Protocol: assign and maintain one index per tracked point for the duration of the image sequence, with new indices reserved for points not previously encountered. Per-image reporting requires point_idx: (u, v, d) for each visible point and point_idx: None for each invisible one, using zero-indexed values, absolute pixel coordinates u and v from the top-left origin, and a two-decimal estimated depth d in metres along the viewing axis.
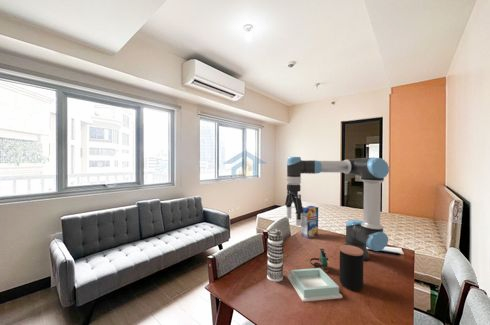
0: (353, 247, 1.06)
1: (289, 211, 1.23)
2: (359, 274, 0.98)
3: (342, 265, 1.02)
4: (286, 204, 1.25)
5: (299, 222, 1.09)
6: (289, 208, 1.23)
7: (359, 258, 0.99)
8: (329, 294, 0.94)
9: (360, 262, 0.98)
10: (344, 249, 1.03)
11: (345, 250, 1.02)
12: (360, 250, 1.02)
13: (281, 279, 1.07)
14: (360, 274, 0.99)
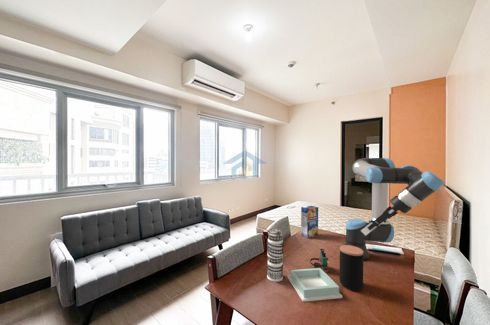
0: (353, 247, 1.06)
1: None
2: (359, 274, 0.98)
3: (342, 265, 1.02)
4: None
5: None
6: None
7: (359, 258, 0.99)
8: (329, 294, 0.94)
9: (360, 262, 0.99)
10: (344, 249, 1.03)
11: (345, 250, 1.02)
12: (360, 250, 1.02)
13: (281, 279, 1.07)
14: (360, 274, 0.99)
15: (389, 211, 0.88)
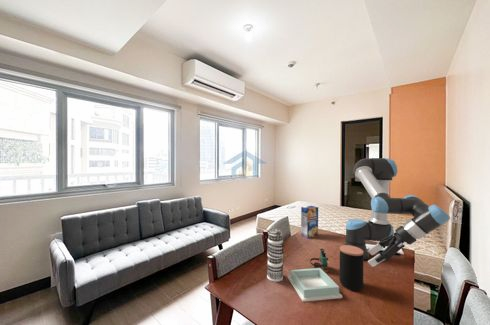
0: (353, 247, 1.06)
1: None
2: (359, 274, 0.98)
3: (342, 265, 1.02)
4: None
5: None
6: None
7: (359, 258, 0.99)
8: (329, 294, 0.94)
9: (360, 262, 0.98)
10: (344, 249, 1.03)
11: (345, 250, 1.02)
12: (360, 250, 1.02)
13: (281, 279, 1.07)
14: (360, 274, 0.99)
15: (398, 244, 0.87)
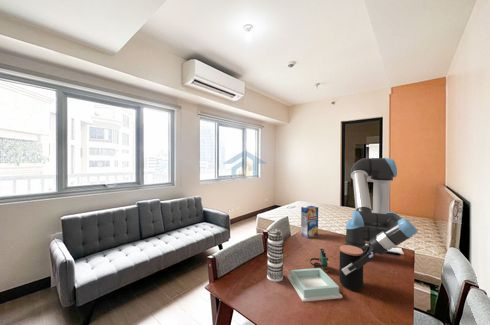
0: (353, 247, 1.06)
1: None
2: (359, 274, 0.98)
3: (342, 265, 1.02)
4: None
5: None
6: None
7: None
8: (329, 294, 0.94)
9: None
10: (344, 249, 1.03)
11: (345, 250, 1.02)
12: (360, 250, 1.02)
13: (281, 279, 1.07)
14: (360, 274, 0.99)
15: (369, 255, 0.94)
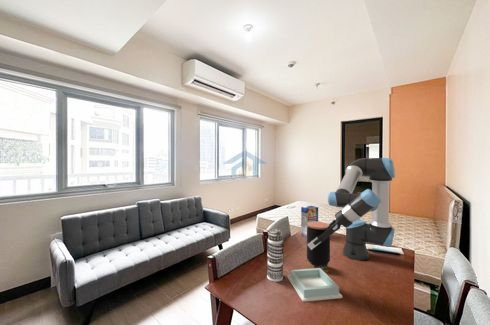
0: (321, 222, 1.03)
1: None
2: (325, 249, 0.96)
3: (308, 240, 0.99)
4: None
5: None
6: None
7: None
8: (329, 294, 0.94)
9: None
10: (311, 224, 1.00)
11: (311, 225, 0.99)
12: (327, 225, 1.00)
13: (281, 279, 1.07)
14: (326, 248, 0.96)
15: (333, 228, 0.91)
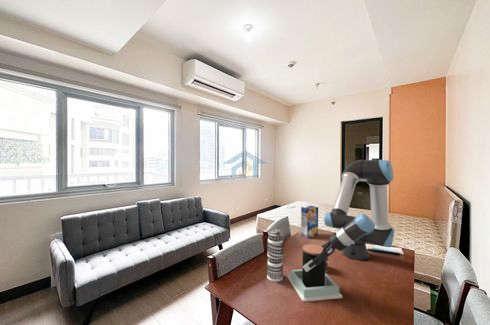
0: (316, 246, 1.04)
1: None
2: (320, 274, 0.96)
3: None
4: None
5: None
6: None
7: None
8: (329, 294, 0.94)
9: (321, 262, 0.96)
10: (306, 248, 1.01)
11: (307, 249, 1.00)
12: (322, 249, 1.00)
13: (281, 279, 1.07)
14: (321, 274, 0.97)
15: (328, 251, 0.91)
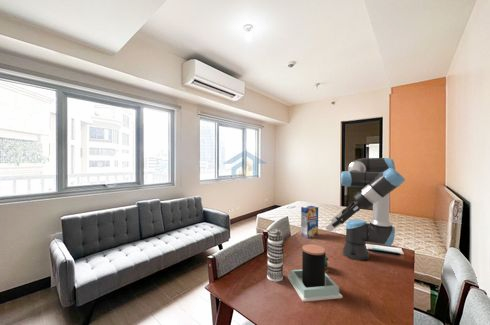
0: (316, 246, 1.04)
1: None
2: (320, 274, 0.97)
3: (304, 265, 1.00)
4: None
5: None
6: None
7: (319, 257, 0.97)
8: (329, 294, 0.94)
9: (320, 261, 0.97)
10: (306, 248, 1.01)
11: (307, 249, 1.00)
12: (322, 249, 1.00)
13: (281, 279, 1.07)
14: (321, 274, 0.97)
15: (354, 208, 0.86)
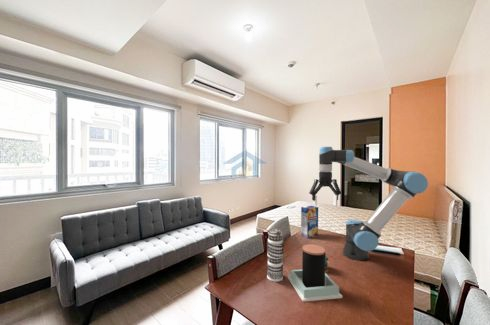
0: (316, 246, 1.04)
1: None
2: (320, 274, 0.97)
3: (304, 265, 1.00)
4: (312, 193, 1.26)
5: None
6: None
7: (320, 257, 0.97)
8: (329, 294, 0.94)
9: (321, 261, 0.97)
10: (306, 248, 1.01)
11: (307, 249, 1.00)
12: (322, 249, 1.00)
13: (281, 279, 1.07)
14: (321, 274, 0.97)
15: (314, 181, 1.27)
